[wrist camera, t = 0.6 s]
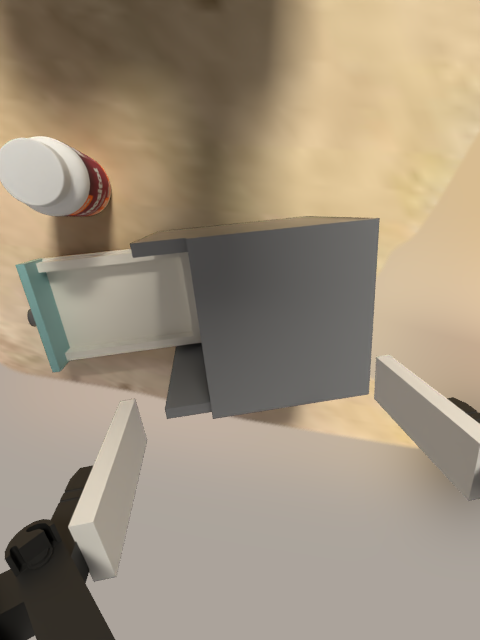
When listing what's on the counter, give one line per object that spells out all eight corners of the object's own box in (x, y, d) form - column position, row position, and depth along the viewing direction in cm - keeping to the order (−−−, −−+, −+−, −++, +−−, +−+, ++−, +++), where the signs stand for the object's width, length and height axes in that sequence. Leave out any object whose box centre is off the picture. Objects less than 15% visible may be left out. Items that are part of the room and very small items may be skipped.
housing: (306, 216, 37) (379, 218, 22) (308, 329, 42) (368, 394, 27) (157, 231, 35) (126, 245, 20) (178, 347, 41) (165, 426, 26)
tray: (189, 242, 35) (187, 246, 31) (203, 337, 39) (203, 351, 35) (26, 259, 34) (2, 266, 30) (58, 356, 38) (41, 374, 34)
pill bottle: (104, 225, 34) (63, 230, 24) (46, 202, 33) (-23, 197, 23) (119, 169, 33) (83, 150, 23) (59, 143, 31) (-9, 109, 21)
